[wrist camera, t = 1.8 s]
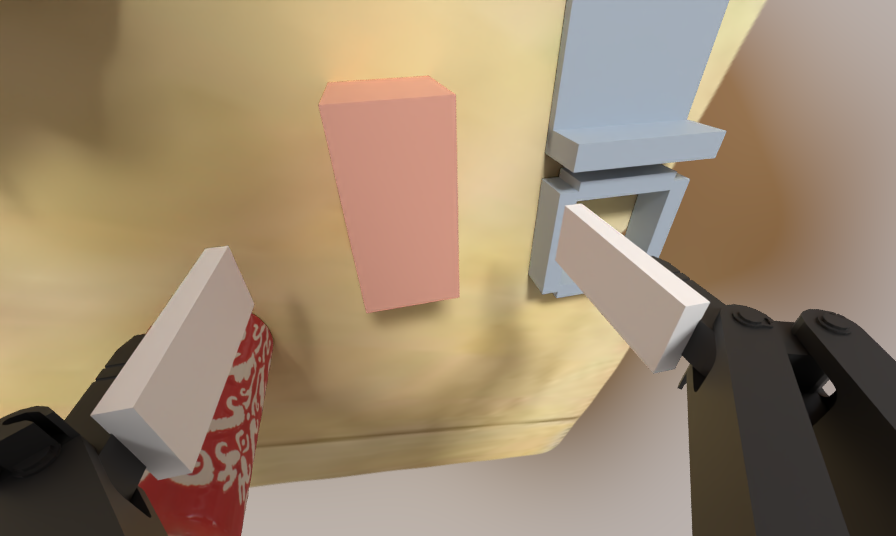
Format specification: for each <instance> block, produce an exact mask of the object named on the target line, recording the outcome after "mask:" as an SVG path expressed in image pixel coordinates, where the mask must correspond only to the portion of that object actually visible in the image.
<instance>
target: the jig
mask: <svg viewBox="0 0 896 536" xmlns="http://www.w3.org/2000/svg"><path fill="white" fill-rule="evenodd" d="M728 3H729V0H567V2H566V9H565V16H564V23H563V30H562V37H561V44H560V51H559V58H558V65H557V72H556V79H555V86H554V93H553V100H552V107H551V114H550V121H549V128H548V135H547V142H546V149H545V154H547V155H548V156H550V157H551V158H553V159H554V160H556V161H557V162H558V163H560V164H561V165H563V166H564V167H566V168H561V169H560V175H559V177H554V178H545V179H542V182H541V189H540V196H539V203H538V210H537V217H536V224H535V231H534V238H533V245H532V252H531V259H530V266H529V273H528V275H529V276H530V277H531V279H532V280H533V282H534V283H535V285H536V286H537V288H538V289H539V290H540V292H541V293H542V294H548V293H553V294H554V296H555V297H556V298H560V297H566V296H572V295H578V294H584V293H583V292H582V291H581V290H580V288H579V287H578V286H577V285H576V284H575V283H574V281H573V280H572V279H571V278H570V277H569V276H568V275H567V273H566V272H565V271H564V270H563V269H562V268H561V266H560V265H559V264H558V263H557V262H556V261H555V258H556V252H557V247H558V241H559V236H560V230H561V225H562V220H563V214H564V209H565V205H574V204H576V203H577V201H583V200H591V199H599V198H608V197H616V196H624V195H633V194H638V196H637V200H636V203H635V206H634V209H633V212H632V215H631V218H630V222H629V225H628V228H627V231H626V234H625V237H626V238H627V239H629V240H630V241H631V242H633V243H634V244H635V245H636V246H638V247H639V248H640V249H642V250H643V251H644V252H646V253H647V254H648V255H649V256H655V257H657V258H659V255H660V253H661V250H662V248H663V245H664V243H665V240H666V238H667V235H668V233H669V230H670V227H671V225H672V223H673V220H674V218H675V215H676V213H677V210H678V208H679V205H680V203H681V200H682V198H683V195H684V193H685V190H686V188H687V185H688V183H689V180H690V179H689V178H686V177H684V176H682V175H680V174H678V173H677V172H676V171H675V170H672V169H670V168H668V167H666V166H664V165H662V163H671V162H680V161H690V160H699V159H709V158H715V157H716V154H717V152H718V150H719V147H720V145H721V143H722V140H723V138H724V136H725V133H726V131H725V130H721V129H718V128H714V127H710V126H707V125H704V124H701V123H697V122H694V121H690V120H687V117H688V114H689V111H690V109H691V106H692V103H693V100H694V98H695V95H696V92H697V89H698V86H699V84H700V81H701V78H702V75H703V72H704V70H705V67H706V64H707V61H708V58H709V56H710V53H711V50H712V47H713V44H714V42H715V39H716V36H717V33H718V30H719V28H720V25H721V22H722V19H723V17H724V14H725V11H726V8H727V5H728Z"/></svg>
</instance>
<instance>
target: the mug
mask: <svg viewBox="0 0 896 536" xmlns="http://www.w3.org/2000/svg"><path fill="white" fill-rule="evenodd" d="M151 327H152V326H151ZM151 327H150V328H151ZM150 328H149V329H150ZM148 331H149V330H148ZM148 331H147V332H148ZM146 334H147V333H146ZM272 352H273V338H272V335H271V333H270V331H269V329H268V327H267V326H266V325H265V324H264V323H263V321H262V320H261V319H259V318H258V317H257V316H255V315H254V314H252V313H251V315H250V318H249V321H248V324H247V326H246V329H245V332H244V334H243V337H242V340H241V342H240V345H239V348H238V351H237V353H236V356H235V359H234V361H233V364H232V367H231V369H230V372H229V375H228V378H227V380H226V383H225V386H224V388H223V391H222V394H221V396H220V399H219V402H218V405H217V407H216V410H215V413H214V415H213V418H212V421H211V423H210V426H209V429H208V432H207V434H206V437H205V440H204V442H203V445H202V448H201V451H200V453H199V456H198V459H197V461H196V464H195V467H194V469H193V472H192V473H189V474H185V475H180V476H176V477H171V478H166V479H162V480H157V479H156V478H155V477H154V476H153V475H152V474H151V473H150V472H149V471H148V470H147V469H145V471H144V474H143V476H142V478H141V480H140V482H139V484H138V486H139V487H140V488H142V489H143V490H144V491H145V493H146V495H147V497H148V498H149V500H150V502H151V504H152V506H153V508H154V510H155V512H156V514H157V515H158V517H159V519H160V521H161V523H162V525H163V527H164V529H165V531H166V532H167V534H168V536H241V533H242V526H243V519H244V514H245V509H246V502H247V499H248V491H249V486H250V481H251V474H252V467H253V461H254V456H255V450H256V444H257V438H258V432H259V426H260V421H261V416H262V411H263V403H264V398H265V392H266V386H267V381H268V373H269V369H270V363H271V358H272Z"/></svg>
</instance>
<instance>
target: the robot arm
mask: <svg viewBox="0 0 896 536" xmlns="http://www.w3.org/2000/svg"><path fill="white" fill-rule="evenodd" d="M555 261H556V262H557V263H558V264H559V265H560V266H561V268H562V269H563V270H564V271H565V272H566V273H567V275H568V276H569V277H570V278H571V279H572V280H573V281H574V283H575V284H576V285H577V286H578V287H579V288H580V290H581V291H582V292H583V293H584V294H585V295H586V296H587V298H588V299H589V300H590V301H591V302H592V303H593V305H594V306H595V307H596V308H597V309H598V310H599V311H600V313H601V314H602V315H603V316H604V317H605V318H606V320H607V321H608V322H609V323H610V324H611V325H612V326H613V328H614V329H615V330H616V331H617V332H618V333H619V335H620V336H621V337H622V338H623V339H624V340H625V341H626V343H627V344H628V345H629V346H630V347H631V348H632V350H633V351H634V352H635V353H636V354H637V355H638V356H639V358H640V359H641V360H642V361H643V362H644V363H645V364H646V365H647V367H648V368H649V369H650V370H651V371H652V372H653V373H658V372H663V371H668V370H672V369H675V368H676V366H677V364H678V362H679V360H680V358H681V356H683V357H684V358H685V359H686V360H687V361H688V362H689V363H690V365H689V367H688V368H687V370H686V372H685V374H684V375H683V377H682V379H681V381H680V383H679V385H678V388H679V389H682V388H683V386H684V385H685V384H686V383H687V399H688V428H689V454H690V481H691V508H692V534H693V536H896V361H895V360H894V359H893V358H892V357H891V356H890V355H889V354H888V353H887V352H886V351H885V350H883V348H882V347H881V346H880V345H879V344H878V343H876V342H875V341H874V340H873V339H872V338H871V337H870V336H869V335H868V334H867V333H866V332H865V331H864V330H863V329H862V328H861V327H860V326H858V325H857V324H856V323H854V322H853V321H851V320H849V319H847V318H845V317H844V316H842V315H839V314H836V313H833V312H829V311H823V310H819V309H808V310H806V311H803V312H802V313H801V315H800V316H799V318H798V319H797V320H796V322H780V321H773V320H772V319H771V318H770V317H768V316H767V315H766V314H764V313H762V312H760V311H758V310H756V309H753V308H750V307H747V306H742V305H735V304H733V305H725V304H724V303H722V302H721V301H720V300H718V299H717V298H715V297H714V296H713V295H712V294H710V293H709V292H707V291H706V290H705V289H703V288H702V287H701V286H699V285H698V284H697V283H695V282H694V281H692V280H690V278H689V277H687V276H686V275H685V274H683V273H680V271H679V270H678V269H676V268H675V267H674V266H672V265H671V264H670V263H668V262H666V261H664V260H662V259H660V258H657V257H655V256H649V255H648V254H647V253H646V252H644V251H643V250H642V249H640V248H639V247H638V246H636V245H635V244H634V243H633V242H631V241H630V240H629V239H627V238H626V237H625V236H623V235H622V234H621V233H619V232H618V231H617V230H616V229H614V228H613V227H612V226H610V225H609V224H608V223H606V222H605V221H604V220H603V219H601V218H600V217H599V216H597V215H596V214H595V213H593V212H592V211H591V210H589V209H588V208H587V207H586V206H584V205H583V204H574V205H565V209H564V214H563V220H562V225H561V230H560V236H559V241H558V247H557V252H556V258H555ZM254 305H255V304H254V302H253V300H252V297H251V295H250V293H249V291H248V288H247V286H246V284H245V282H244V279H243V277H242V275H241V273H240V270H239V268H238V266H237V264H236V261H235V259H234V257H233V255H232V252H231V250H230V248H229V246H223V247H214V248H206V249H205V250H204V251H203V253H202V254H201V256H200V257H199V258H198V260H197V261H196V263H195V264H194V266H193V267H192V269H191V270H190V271H189V273H188V274H187V276H186V277H185V279H184V280H183V282H182V283H181V285H180V286H179V287H178V289H177V290H176V292H175V293H174V295H173V296H172V298H171V299H170V300H169V302H168V303H167V305H166V306H165V308H164V309H163V311H162V312H161V313H160V315H159V316H158V318H157V319H156V321H155V322H154V324H153V325H152V327H151V328H150V329H149V331H148V332H147V334H142V335H136V336H134V337H133V338H131V339H130V340H129V341H128V342H127V343H125V344H124V345H123V346H122V347H120V348H119V349H118V350H117V351H116V352H115V353H114V355H113V356H112V357H111V359H110V360H109V361H108V363H107V364H106V365H105V369H102V371H101V372H100V373H99V375H98V376H97V378H96V379H95V380H96V382H93V383H92V384H91V386H90V387H89V388H88V390H87V391H86V392H85V394H84V395H83V396H82V398H81V399H80V400H79V402H78V403H77V404H76V406H75V407H74V408H73V410H72V411H71V412H70V414H69V415H68V416H67V418H66V419H65V420H63V419H62V418H61V417H60V416H58V415H57V414H56V413H55V412H54V411H53V410H51V409H50V408H49V407H45V406H34V407H30V408H26V409H22V410H19V411H16V412H14V413H12V414H10V415H7V416H5V417H3V418H1V419H0V536H168V534H167V532H166V531H165V529H164V527H163V525H162V523H161V521H160V519H159V517H158V515H157V514H156V512H155V510H154V508H153V506H152V504H151V502H150V500H149V498H148V497H147V495H146V493H145V491H144V490H143V489H142V488H140V487H139V486H138V484H139V482H140V480H141V478H142V476H143V474H144V471H145V469H147V470H148V471H149V472H150V473H151V474H152V475H153V476H154V477H155V478H156V479H157V480H162V479H166V478H171V477H176V476H180V475H185V474H189V473H192V472H193V469H194V467H195V464H196V461H197V459H198V456H199V453H200V451H201V448H202V445H203V442H204V440H205V437H206V434H207V432H208V429H209V426H210V423H211V421H212V418H213V415H214V413H215V410H216V407H217V405H218V402H219V399H220V396H221V394H222V391H223V388H224V386H225V383H226V380H227V378H228V375H229V372H230V369H231V367H232V364H233V361H234V359H235V356H236V353H237V351H238V348H239V345H240V342H241V340H242V337H243V334H244V332H245V329H246V326H247V324H248V321H249V318H250V315H251V313H252V310H253V307H254ZM829 379H830V380H831V382H832V383H833V384H834V386H835V388H836V391H835V392H834V393H833V394H832V395H830V396H828V395H827V394H826V393H825V391H824V390H823V389H822V387H823V386H824V385H825V384H826V383H827V381H828V380H829Z"/></svg>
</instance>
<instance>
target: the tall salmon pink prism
mask: <svg viewBox="0 0 896 536" xmlns="http://www.w3.org/2000/svg"><path fill="white" fill-rule="evenodd" d="M318 106H319V110H320V114H321V119H322V123H323V127H324V132H325V136H326V140H327V145H328V149H329V153H330V158H331V162H332V166H333V171H334V175H335V179H336V184H337V188H338V192H339V197H340V201H341V205H342V210H343V214H344V218H345V223H346V227H347V231H348V236H349V240H350V244H351V249H352V253H353V257H354V262H355V266H356V270H357V275H358V279H359V283H360V288H361V292H362V296H363V301H364V305H365V309H366V313H371V312H377V311H383V310H389V309H394V308H400V307H406V306H412V305H418V304H423V303H429V302H435V301H441V300H447V299H452V298H458V297H459V245H458V188H457V132H456V94H454V93H453V92H451V91H450V90H448V89H447V88H446V87H444V86H443V85H441V84H440V83H438V82H437V81H436V80H434V79H433V78H431V77H430V76H417V77H402V78H387V79H372V80H356V81H341V82H328V83H327V86H326V88H325V90H324V93H323V95H322V98H321V100H320V102H319V105H318Z"/></svg>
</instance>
